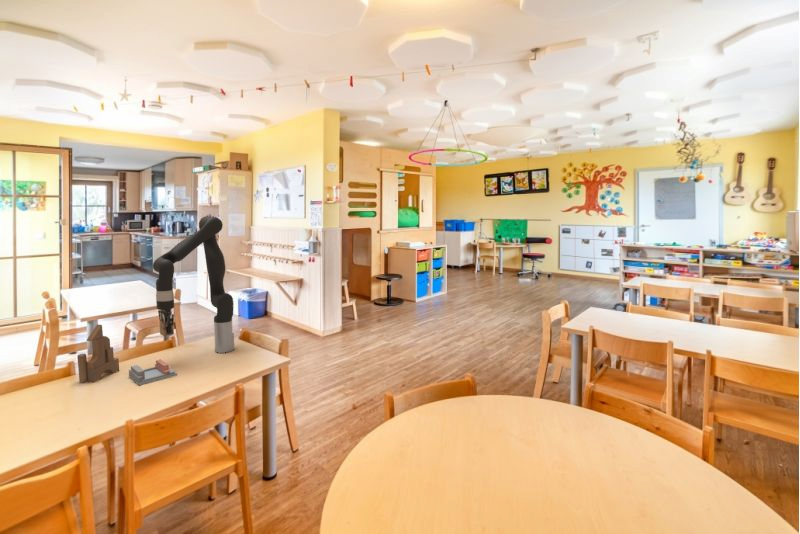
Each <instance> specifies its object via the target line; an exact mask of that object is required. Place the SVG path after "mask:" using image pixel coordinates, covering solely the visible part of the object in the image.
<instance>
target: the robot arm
mask: <svg viewBox="0 0 800 534" xmlns="http://www.w3.org/2000/svg"><path fill="white" fill-rule="evenodd" d="M222 229H223V221H222V220H221V219H220V218H219V217H216V216H203V217H202V218H200V219H199V223H198V231H196V232H195V233H194V234H191V235H189V236H188V237H186V238H183V240H181V241H180V242H179V243H177V244H176V245H175V246H174V247H172V248H171V249H170V250H169V251H167V252H166V253H163V254H162V255H160V256H159V257H157V258H156V259H155V260H154V261H153V263H152V268H153V270H154V271H155V272H157V273H158V278H157V279H156V281H155V287H156V288H155V289H156V292H155V298H156V299H155V300H156V301H155V302H156V309H157V310H158V311H157V313H158V320H159V321H164V322H165V323H166V333H167V334H170V333H172V328H171V326H172V325H173V326H174V324H175V323H174V320H175V319H174V318H175V314H172V311H171V310H172V309H174V308H175V296H174V295H175V293H174V286H173V285H174V284H173V280H174V275H175V266H174V264H175V263H177V262H179V263H180V262H182V260H184V259H185V258H186V257H187V256H188V255H190V254H191V253H192V252H193V251H194V250H195V249H197V248H198V247H199V246H200V245H202V244H203V251H204V256H205V257H204V258H205V263H206V271H207V275H208V282H209V292H210V293H209V294H210V295H209V296H210V302H211V305H212V306H213V307H214V308H216V315H215V316H214V317H213V327H214V352H215V353H217V352H218V353H217V354H226V353H230V352H232V351H234V350H235V333H234V332H233V317H234V298H233V296H232V295H231V294H229V293H227V292H226V291H225V287H224V278H225V274H226V261H225V257H224V254H223V251H222V249H221V248H220V245H219V244H218V241H217V234H219V233H220V232H221V231H222ZM169 322H170V323H169ZM233 349H234V350H233ZM225 352H226V353H225Z"/></svg>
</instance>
